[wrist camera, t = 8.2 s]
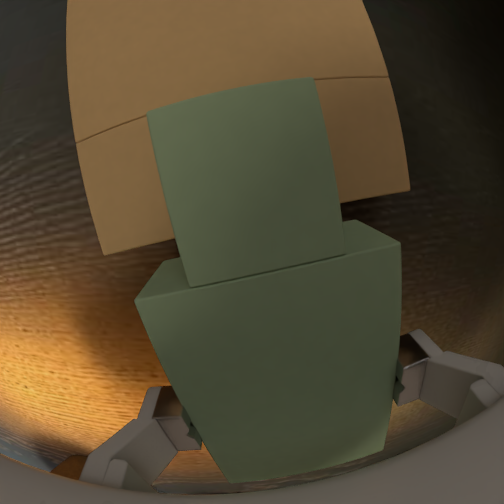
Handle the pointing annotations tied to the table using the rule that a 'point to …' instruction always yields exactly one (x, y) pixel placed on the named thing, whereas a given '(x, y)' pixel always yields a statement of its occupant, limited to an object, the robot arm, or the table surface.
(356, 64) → the sand pad
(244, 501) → the robot arm
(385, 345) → the sage pad
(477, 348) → the table surface
